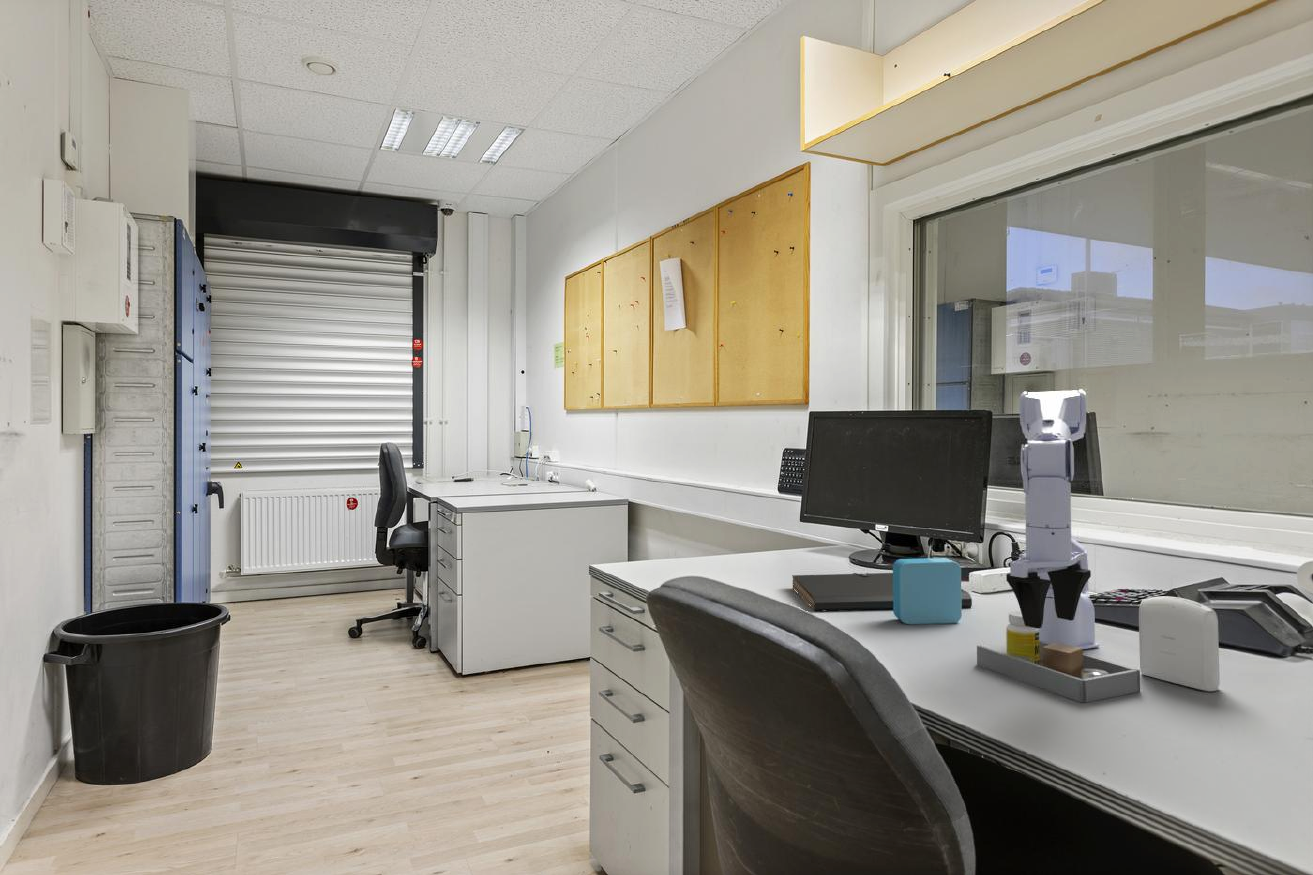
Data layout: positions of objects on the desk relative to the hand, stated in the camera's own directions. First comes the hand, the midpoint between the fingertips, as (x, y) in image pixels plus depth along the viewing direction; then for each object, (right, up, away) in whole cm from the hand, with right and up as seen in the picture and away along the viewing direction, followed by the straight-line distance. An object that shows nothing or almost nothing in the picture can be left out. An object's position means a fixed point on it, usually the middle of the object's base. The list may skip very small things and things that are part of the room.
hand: (1049, 622), depth 108 cm
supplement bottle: (+3, -10, +14) cm, 17 cm away
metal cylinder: (+8, -10, +2) cm, 13 cm away
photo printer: (+22, -10, +5) cm, 25 cm away
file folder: (-6, -11, +65) cm, 66 cm away
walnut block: (+5, -10, +7) cm, 14 cm away
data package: (-2, -10, +43) cm, 45 cm away
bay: (+5, -10, +8) cm, 14 cm away
